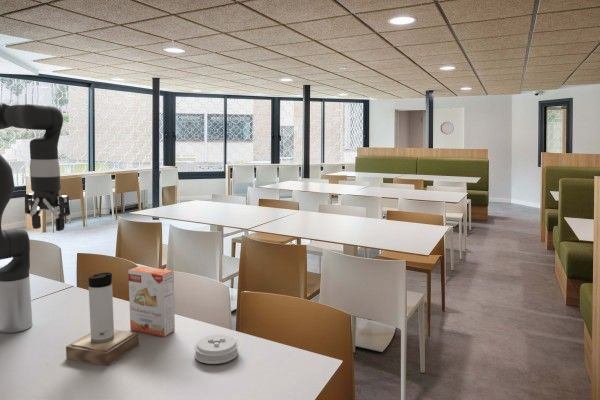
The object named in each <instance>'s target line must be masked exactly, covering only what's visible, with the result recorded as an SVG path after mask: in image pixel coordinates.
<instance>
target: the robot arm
mask: <svg viewBox="0 0 600 400" xmlns="http://www.w3.org/2000/svg"><path fill="white" fill-rule="evenodd" d="M63 123H64V116H63V112H62V110H61V109H60V108H58V106H54V105H44V104H43V105H42V104H29V103H28V104H27V103H26V104H25V103H24V104H13V105H10V104H7V103H4V102H1V101H0V130H4V129H8V128H16V129H25V130H31V131H32V130H33V131H34V130H35V131H36V130H37V131H38V130H39V131H45V132H44V135H43V136H41V137H37V138H32V139H31V140H30V141H29V157H30V158H29V159H30V165H29V172H30V173H29V176H30V190H31V191H32V193H25V194H24V213H25V214H26V215H29V216H30V217H31V226H32V229H34V230H38V229H41V227H42V222H41V221H42V219H41V215H40V214H41V213H42V211H44V210H46V211H47V210H48V211H49V212H50V213H52V214H53V215H54V217H55V220H54V221H55V230H56V231H57V232H61V231H64V229H65V217H69V216H71V209H70V198H69V197H70V196H69V195H67V194H66V195H60V193H59V191H60V190H61V171H60V170H61V169H60V168H61V167H60V163H59V150H58V149H59V148H58V144H59V141H60V136H61V131H62V128H63ZM14 179H15V178H14V174H13V169H12V167H11V165H10V163H9V162H8V161H7V160H6V159H5V157H4V156H3V155H2V154H1V153H0V261H1V260H6V259H11V258H12V259H11V260H10V261H9V262H8V263H7V264H5V265H4V266H1V267H0V333H5V334H12V333H19V332H24V331H25V330H28V329H30V328H31V327H32V326H33V311H32V297H31V283H30V282H31V281H30V269H31V241H30V236H29V233H28V231H27V230H26V229H25V228H23V227H17V228H10V229H3V230H2V218H3V214H4V211H5V210H6V207H7V205H8V204H9V202H10V201H11V199H12V197H13V194H14V191H15V180H14Z"/></svg>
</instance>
